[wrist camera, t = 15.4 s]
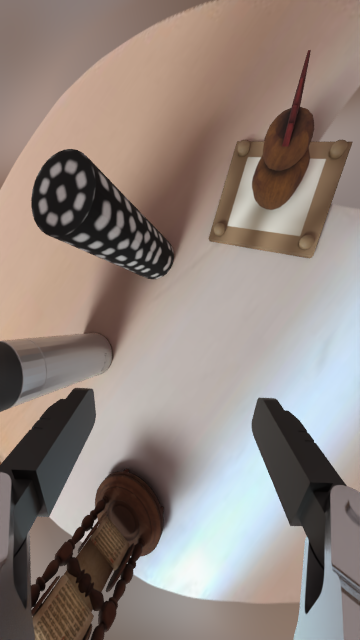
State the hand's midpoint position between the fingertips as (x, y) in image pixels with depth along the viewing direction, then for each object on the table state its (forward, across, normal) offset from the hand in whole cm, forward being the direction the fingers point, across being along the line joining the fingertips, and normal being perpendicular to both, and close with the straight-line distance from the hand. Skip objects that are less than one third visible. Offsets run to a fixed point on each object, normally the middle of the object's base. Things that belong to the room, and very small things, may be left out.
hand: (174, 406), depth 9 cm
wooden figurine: (+27, -14, -16) cm, 34 cm away
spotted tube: (+32, +5, -6) cm, 33 cm away
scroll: (+17, +6, +42) cm, 46 cm away
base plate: (+28, -14, -16) cm, 35 cm away
